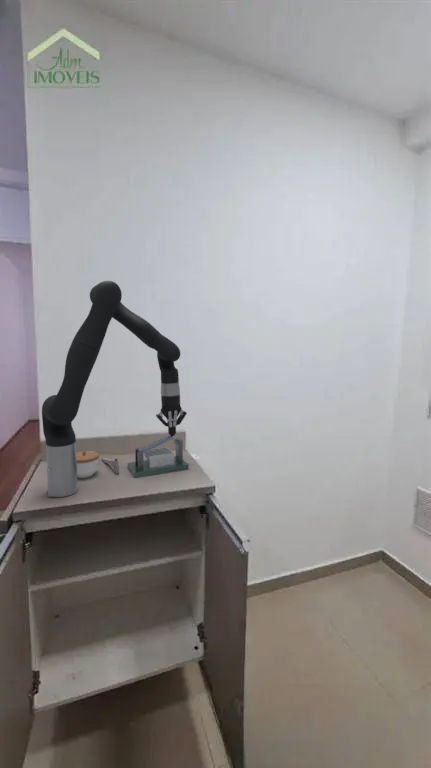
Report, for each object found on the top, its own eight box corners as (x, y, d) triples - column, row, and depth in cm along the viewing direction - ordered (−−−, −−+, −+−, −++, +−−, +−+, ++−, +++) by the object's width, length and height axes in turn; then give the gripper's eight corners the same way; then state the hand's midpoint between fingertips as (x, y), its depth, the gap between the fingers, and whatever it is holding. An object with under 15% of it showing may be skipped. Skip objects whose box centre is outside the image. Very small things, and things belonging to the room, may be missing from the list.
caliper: (119, 475, 136) (118, 459, 135) (116, 475, 135) (115, 460, 134) (103, 460, 152) (103, 446, 152) (101, 460, 152) (100, 446, 151)
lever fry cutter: (133, 478, 132) (133, 449, 131) (127, 467, 143) (126, 441, 141) (188, 469, 141) (188, 442, 140) (178, 460, 152) (178, 435, 151)
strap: (140, 454, 137) (139, 451, 136) (138, 451, 139) (137, 449, 139) (173, 438, 142) (173, 436, 142) (171, 436, 145) (170, 434, 144)
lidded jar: (69, 482, 128) (68, 457, 127) (70, 471, 138) (68, 448, 137) (100, 478, 132) (99, 454, 131) (98, 468, 142) (97, 445, 141)
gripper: (157, 396, 134) (159, 440, 137) (189, 393, 140) (190, 435, 142) (151, 393, 141) (154, 435, 144) (182, 390, 147) (184, 430, 149)
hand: (172, 435), depth 143 cm, fingers closed
